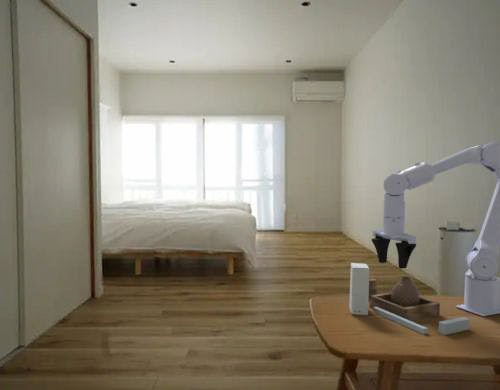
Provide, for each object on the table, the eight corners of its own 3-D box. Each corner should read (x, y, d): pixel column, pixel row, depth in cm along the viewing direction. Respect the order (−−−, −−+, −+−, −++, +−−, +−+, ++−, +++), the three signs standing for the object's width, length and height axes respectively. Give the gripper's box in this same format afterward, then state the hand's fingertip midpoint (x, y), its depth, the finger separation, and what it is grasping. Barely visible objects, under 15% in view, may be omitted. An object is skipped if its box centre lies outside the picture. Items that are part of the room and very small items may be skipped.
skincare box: (368, 315, 101) (369, 268, 100) (351, 314, 101) (352, 267, 101) (365, 308, 107) (366, 263, 106) (349, 306, 107) (350, 262, 107)
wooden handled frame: (383, 294, 120) (383, 277, 119) (439, 315, 102) (440, 295, 102) (350, 298, 115) (351, 281, 114) (404, 321, 97) (404, 301, 96)
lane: (407, 306, 109) (408, 297, 108) (469, 329, 92) (469, 319, 92) (373, 311, 103) (373, 302, 103) (431, 337, 87) (431, 326, 87)
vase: (420, 316, 100) (422, 282, 100) (391, 313, 102) (392, 279, 102) (417, 308, 107) (418, 275, 107) (390, 305, 109) (391, 273, 108)
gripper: (365, 215, 118) (363, 261, 118) (402, 220, 105) (401, 272, 105) (383, 214, 121) (382, 259, 121) (422, 219, 108) (420, 269, 108)
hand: (392, 265), depth 114 cm, fingers open, 7 cm apart
